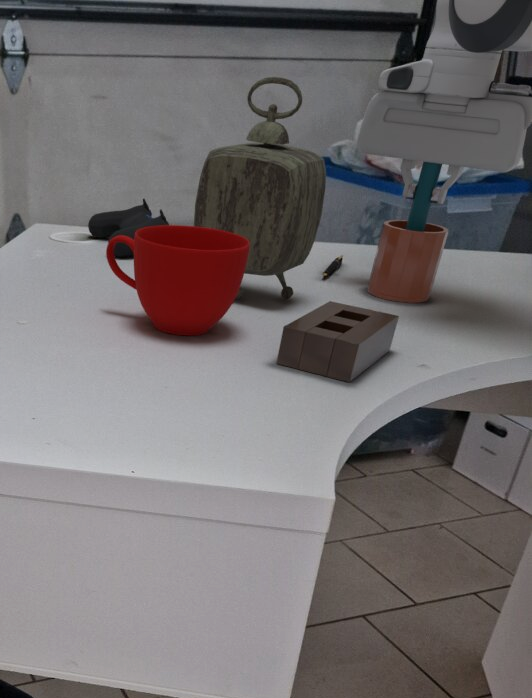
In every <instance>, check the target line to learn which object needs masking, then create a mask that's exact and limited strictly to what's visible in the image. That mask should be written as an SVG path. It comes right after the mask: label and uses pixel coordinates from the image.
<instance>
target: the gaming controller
mask: <svg viewBox="0 0 532 698" xmlns="http://www.w3.org/2000/svg"><path fill="white" fill-rule="evenodd" d="M149 206H150V205H148V203H147V201H146V199H145V198H142V204H140V205H135V206H133V207H130V208H127V209H123V210H112V211H103V212H100V213H99V212H98V213H94V214H93V215H92V216H91V217H90V219H89V220H88V224H87V227H88V231H89V234H90V235H92V237H93V238H95V239H108V238H109V239H108V242H107V244H108V243H109V242H110V240H111V239H112V238H114V237H116V236H119V235H124V236H128V237H130V238H132V239H133V240H134V237H135V232H136V231H137V230H139V229H141V228H145V227H150V226H161V225H170V223H169V221H167V217H166V216H165V213H164V211H163V210H162V208H161V209H159V215H158V216H155V217H152V216H153V213H152V211H151V209H150V207H149ZM132 255H133V256H134V253H133V251H132V249H131V248H130V247H129V246H128V245H127V244H125V243H123V242H117V243H116V244H115V246H114V257H118V258H123V257H129V256H132Z"/></svg>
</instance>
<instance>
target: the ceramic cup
mask: <svg viewBox="0 0 532 698" xmlns="http://www.w3.org/2000/svg"><path fill="white" fill-rule="evenodd" d="M117 242H123V243H125V244H127V245H128V246H129V247H130V248H131V249H132V251H133V253H134V254H133V275H134V278H132V277H131V276H129V275H128V274H127V273H126V272H124V271H123V270H122V268H120V266H119V264H118V262H117V260H116V256H114V246H115V244H116V243H117ZM249 248H250V242H249V241H248V240H247V239H246V238H244V237H242V236H240V235H237V234H234V233H231V232H227V231H222V230H217V229H211V228H204V227H195V226H194V225H181V224H180V225H179V224H169V225H161V226H150V227H145V228H141V229H139V230H137V231H136V232H135V237H134V240H133V239H132V238H130V237H128V236H124V235H119V236H116V237H114V238H112V239H111V240H110V242H109V243H108V242H107V245H106V251H105V252H106V253H105V255H106V260H107V264H108V266H109V268H110V270H111V272H112V273H113V274H114V275H115V276H116V278H118V279H119V280H120V281H122V282H123V283H124V284H126V285H127V286H129V287H131V288H132V289H134V290H136V292H137V297H138V300H139V302H140V305H141V307H142V309H143V311H144V312H145V314H146V315H147V317H148V318H149V320H150V321H151V322H152V324H153V327H154V328H155V329H157V330H159V331H161V332H164V333H166V334H171V335H177V336H200V335H203V334H207V333H209V332H210V329H212V327H214V326H216V324H217V323H218V322H219V321H220V320H221V319H222V318H223V317H224V316H225V315H226V314H227V313H228V311H229V309H230V308H231V307H232V305H233V304H234V302H235V300H236V299H235V298H236V296H237V293H238V291H239V288H240V287H241V286H242V282H243V278H244V276H245V274H244V272H245V268H246V264H247V259H248V254H249Z"/></svg>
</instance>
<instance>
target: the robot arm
mask: <svg viewBox="0 0 532 698" xmlns="http://www.w3.org/2000/svg"><path fill="white" fill-rule="evenodd" d="M435 15H436V16H435V22H434V26H433V29H432V32H431V34H430V36H429V38H428V40H427V42H426V45H425V49H424V52H423V56H422V58H421V59H420V60H418V61H411V62H407V63H405V64H402V65H398V66H394V67H390V68H387V69H384V70H383V71H382V72H381V73H380V75H379V77H378V83H377V84H378V88H379V89H380V90H381V91H378V92H376V93H375V94H374V95H373V96H372V97H371V99H370V100H369V102H368V104H367V107H366V110H365V112H364V114H363V118H362V121H361V125H360V127H359V131H358V134H357V135H358V136H357V140H356V146H357V148H358V152H359V153H360V154H364V155H371V156H380V157H386V158H394V159H401V164H400V172H401V176H402V180H403V184H404V186H403V190H402V194H401V198H402V199H405V200H412V201H413V199H414V195H415V191H416V188H417V184H418V183H415V181H414V178H413V173H412V170H414V169H415V168H416V167H417V163H418V162H422V163H423V162H430V163H437V164H442V165H445V166H448V168H447V172H446V176H449V177H448V179H447V180H446V181H445V182H444V183H443V184H442V186H436V188H434V189H433V192H432V195H433V196H432V197H431V200H430V202H431V203H432V204H437V205H443V204H444V202H445V201H446V198H447V194H448V190H449V189H450V188H452V186H453V185H454V184H455V183H456V181H458V179H459V178H460V177H461V176H462V174H463V170H464V168H468V169H475V170H482V171H490V172H498V173H508V172H510V171H512V170H513V169H515V168H516V167H517V166H518V165H519V164H520V160H521V157H522V154H523V150H524V147H525V141H526V136H527V129H528V128H529V127H530V126H531V125H532V86H531V85H527V84H519V85H517V84H511V83H505V82H496V81H495V77H496V73H497V71H498V70H497V69H498V67H499V64H500V59H501V56H502V53H503V51H507V52H508V51H509V52H521V53H524V52H525V53H526V52H532V0H436V5H435ZM494 81H495V82H494ZM529 95H531V96H529Z"/></svg>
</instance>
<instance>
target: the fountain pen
mask: <svg viewBox="0 0 532 698" xmlns="http://www.w3.org/2000/svg"><path fill="white" fill-rule="evenodd" d="M343 257H344V255H343V254H341V255H340V256H338V257H335V259H333V260H332V261H331V263H330V264H329V265H328V266H327V268H326V269H325V270H324V271H323V272H322V276H323V277H324V278H326V277H328V276H329V275H330V274H331V273H333V272H334V271H335V270H336V269H338V268H339V267H340V266H341V264H342V263H343V260H344V258H343Z"/></svg>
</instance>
